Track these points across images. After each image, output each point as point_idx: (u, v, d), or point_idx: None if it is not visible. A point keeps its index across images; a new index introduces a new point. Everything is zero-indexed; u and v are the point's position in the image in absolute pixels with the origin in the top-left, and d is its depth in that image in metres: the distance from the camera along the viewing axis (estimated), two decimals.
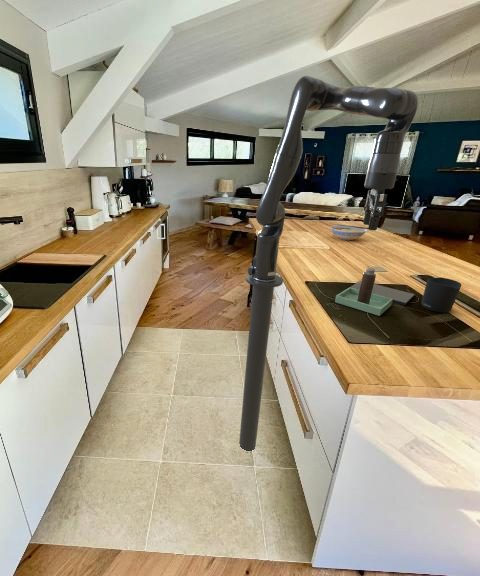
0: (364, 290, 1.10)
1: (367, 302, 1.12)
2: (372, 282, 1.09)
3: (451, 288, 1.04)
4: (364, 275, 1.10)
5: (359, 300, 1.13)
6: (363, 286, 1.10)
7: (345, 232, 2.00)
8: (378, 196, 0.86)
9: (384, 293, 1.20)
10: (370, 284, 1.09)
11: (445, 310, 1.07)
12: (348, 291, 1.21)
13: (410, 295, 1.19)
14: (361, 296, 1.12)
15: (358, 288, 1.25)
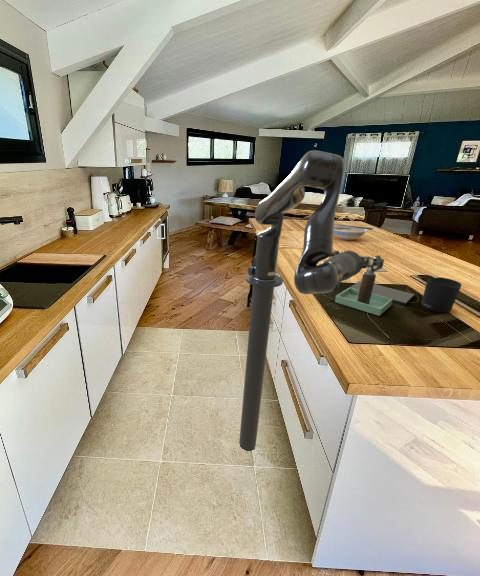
0: (364, 290, 1.10)
1: (367, 302, 1.12)
2: (372, 282, 1.09)
3: (451, 288, 1.04)
4: (364, 275, 1.10)
5: (359, 300, 1.13)
6: (363, 286, 1.10)
7: (345, 232, 2.00)
8: None
9: (384, 293, 1.20)
10: (370, 284, 1.09)
11: (445, 310, 1.07)
12: (348, 291, 1.21)
13: (410, 295, 1.19)
14: (361, 296, 1.12)
15: (358, 288, 1.25)
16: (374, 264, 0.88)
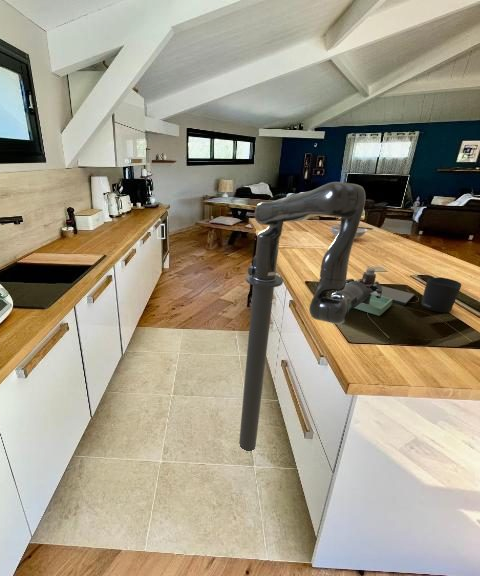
0: None
1: (367, 302, 1.12)
2: (372, 282, 1.09)
3: (451, 288, 1.04)
4: (364, 275, 1.10)
5: None
6: None
7: None
8: None
9: (384, 293, 1.20)
10: None
11: (445, 310, 1.07)
12: None
13: (410, 295, 1.19)
14: None
15: None
16: (380, 292, 1.02)
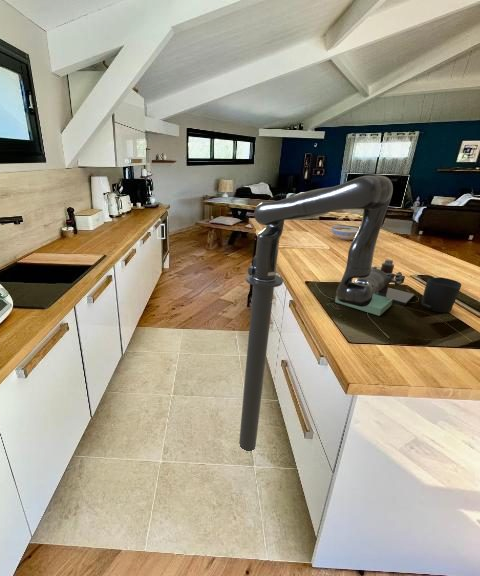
0: None
1: (385, 290, 1.21)
2: (390, 272, 1.18)
3: (451, 288, 1.04)
4: (383, 265, 1.19)
5: None
6: None
7: (345, 232, 2.00)
8: None
9: (384, 293, 1.20)
10: None
11: (445, 310, 1.07)
12: None
13: (410, 295, 1.19)
14: None
15: None
16: (397, 280, 1.10)
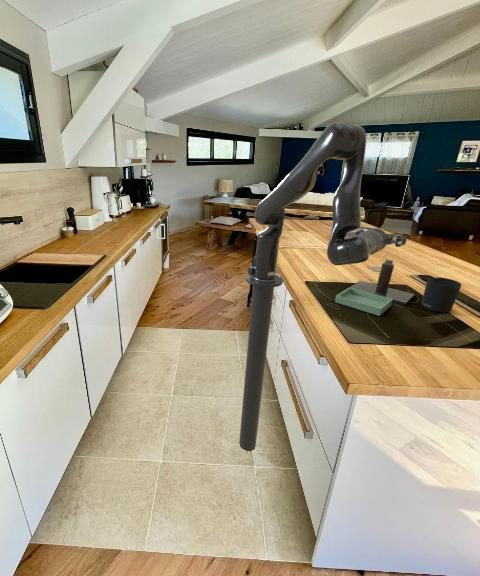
0: (383, 279, 1.20)
1: (385, 290, 1.21)
2: (390, 272, 1.18)
3: (451, 288, 1.04)
4: (383, 265, 1.19)
5: (378, 289, 1.22)
6: (382, 275, 1.20)
7: None
8: (355, 233, 1.05)
9: (384, 293, 1.20)
10: (389, 273, 1.18)
11: (445, 310, 1.07)
12: (348, 291, 1.21)
13: (410, 295, 1.19)
14: (380, 285, 1.21)
15: (358, 288, 1.25)
16: (398, 240, 0.96)
